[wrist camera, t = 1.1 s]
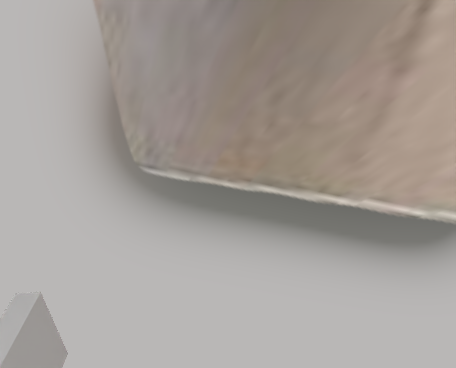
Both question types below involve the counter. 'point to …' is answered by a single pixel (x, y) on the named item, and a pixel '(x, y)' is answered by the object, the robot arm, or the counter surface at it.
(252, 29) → the counter surface
